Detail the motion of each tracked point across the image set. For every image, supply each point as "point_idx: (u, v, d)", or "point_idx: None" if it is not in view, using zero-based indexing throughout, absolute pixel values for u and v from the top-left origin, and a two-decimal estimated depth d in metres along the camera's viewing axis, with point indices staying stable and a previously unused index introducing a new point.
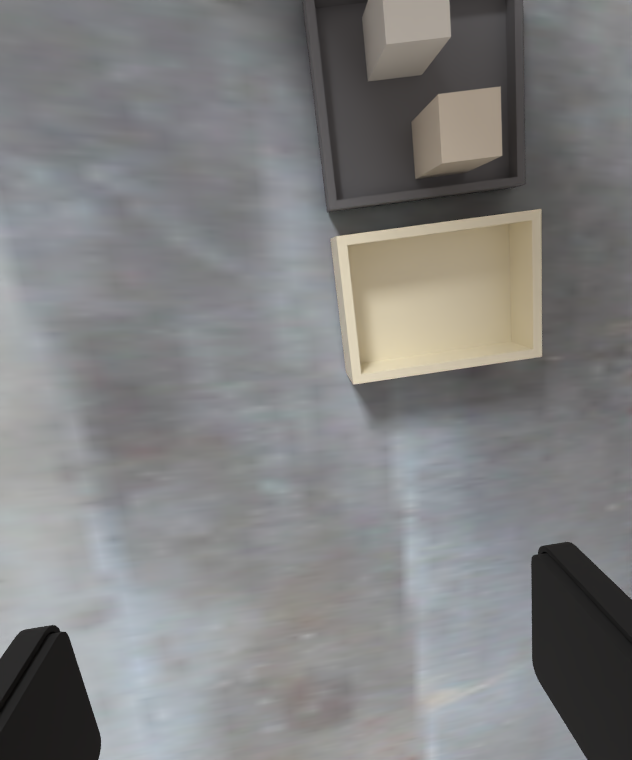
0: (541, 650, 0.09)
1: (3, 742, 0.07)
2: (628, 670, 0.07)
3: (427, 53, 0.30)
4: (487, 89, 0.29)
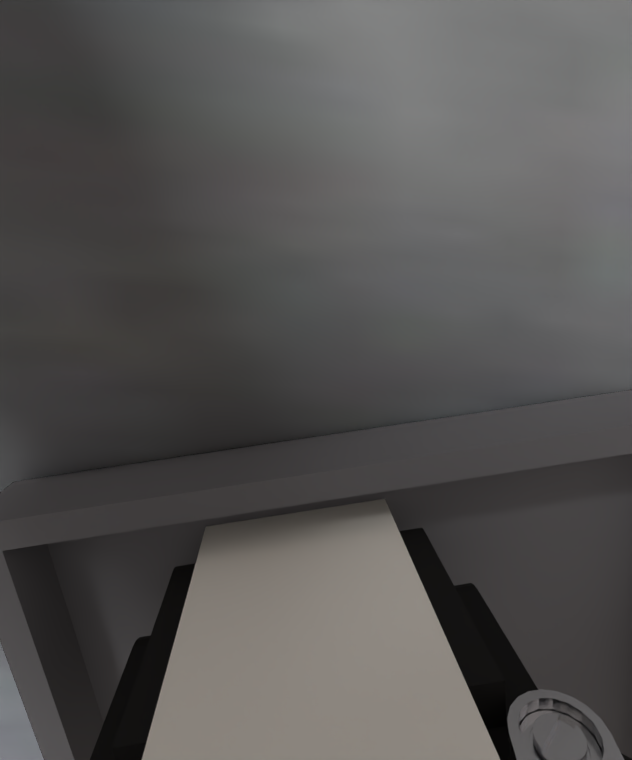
0: None
1: None
2: None
3: None
4: None
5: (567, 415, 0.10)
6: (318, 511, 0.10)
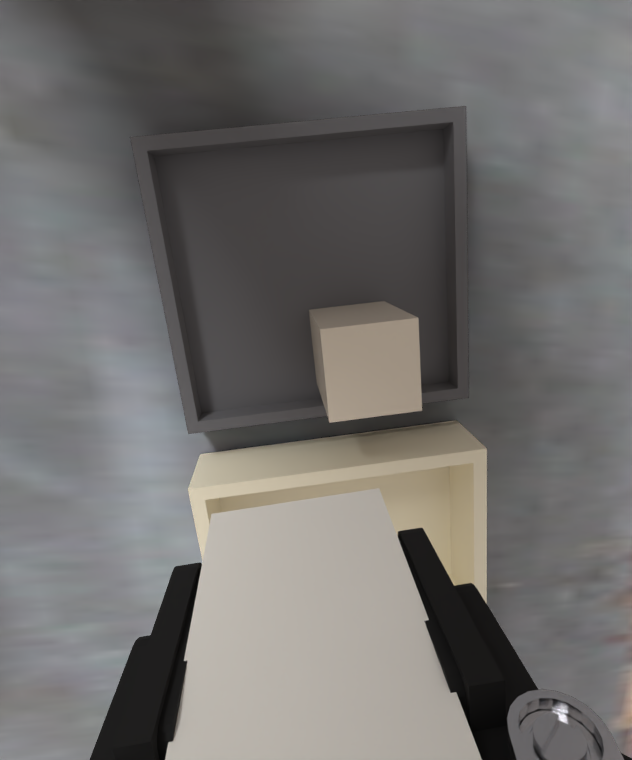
0: None
1: None
2: None
3: None
4: (397, 322, 0.19)
5: None
6: (317, 499, 0.11)
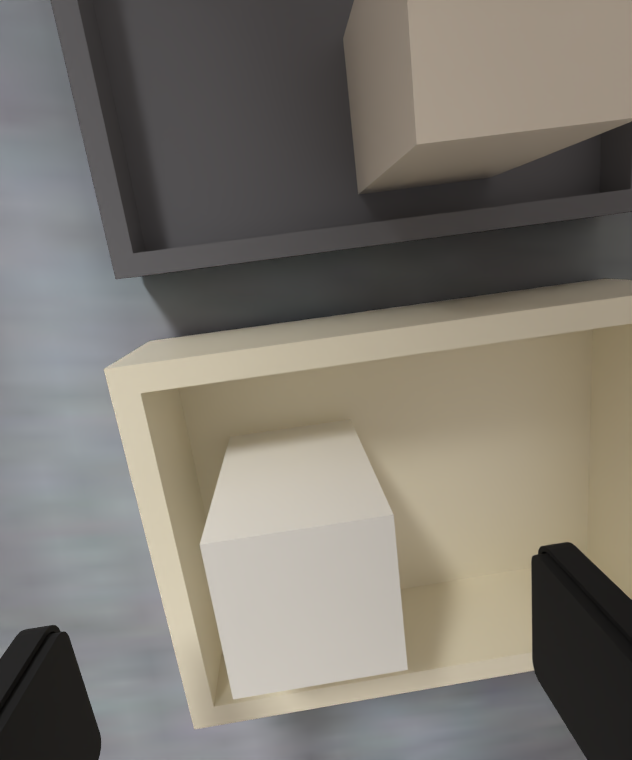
0: (541, 650, 0.09)
1: (3, 742, 0.07)
2: (628, 670, 0.07)
3: None
4: None
5: None
6: (305, 427, 0.15)
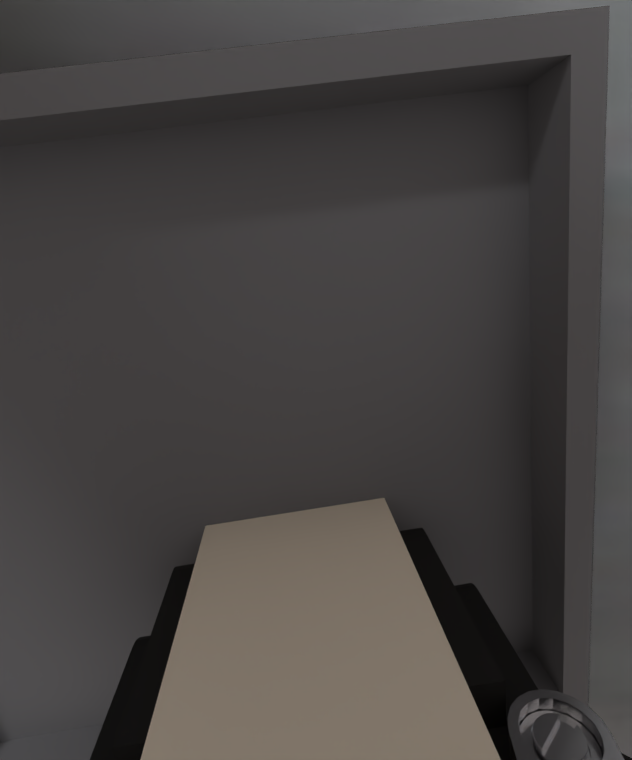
0: None
1: None
2: None
3: None
4: None
5: None
6: None
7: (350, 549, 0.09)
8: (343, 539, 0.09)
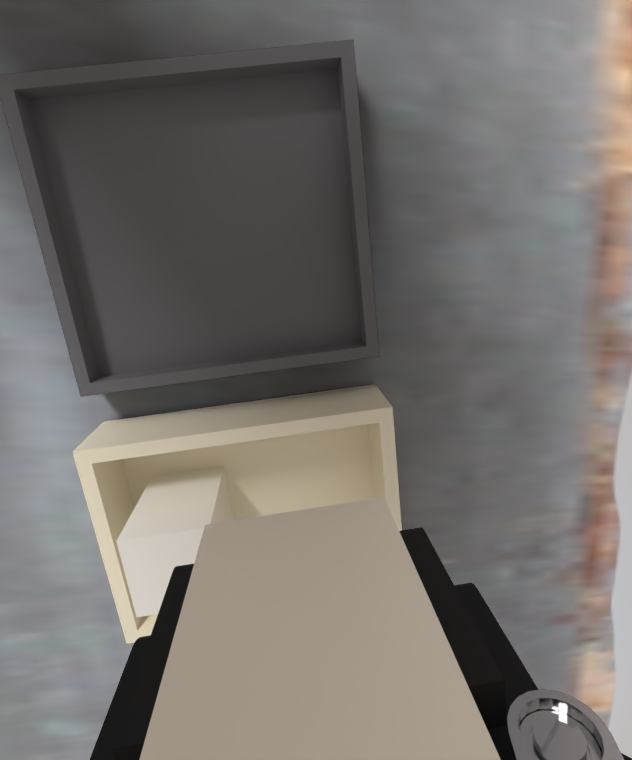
0: None
1: None
2: None
3: None
4: None
5: None
6: (197, 471, 0.26)
7: (350, 548, 0.09)
8: (343, 538, 0.09)
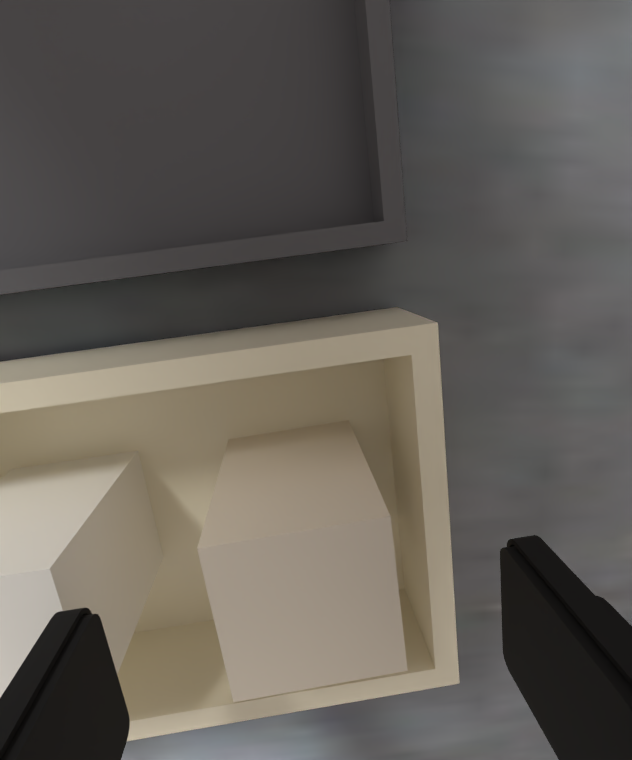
0: (510, 640, 0.09)
1: (48, 713, 0.07)
2: (581, 655, 0.07)
3: None
4: (350, 526, 0.10)
5: None
6: (91, 459, 0.15)
7: (322, 444, 0.14)
8: (318, 440, 0.14)
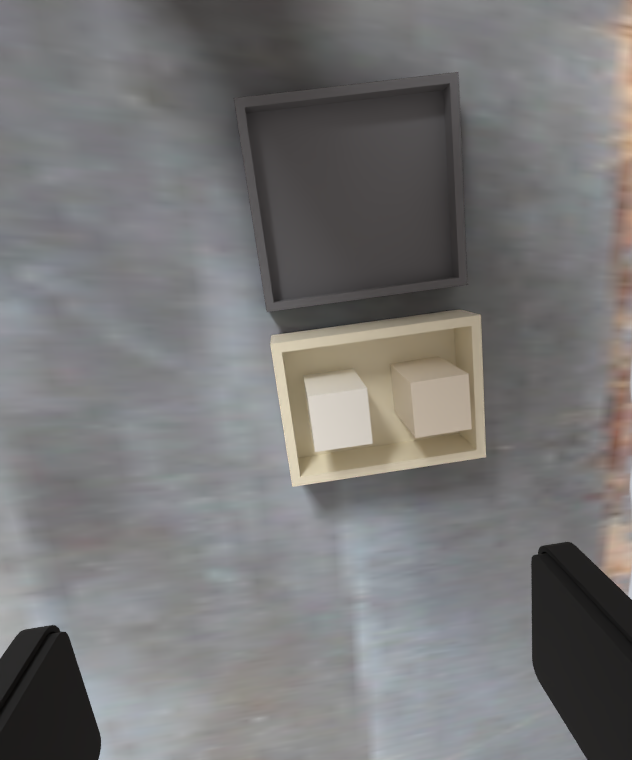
0: (541, 650, 0.09)
1: (3, 742, 0.07)
2: (628, 670, 0.07)
3: None
4: (456, 376, 0.31)
5: None
6: (334, 371, 0.37)
7: (433, 362, 0.35)
8: (430, 361, 0.36)
